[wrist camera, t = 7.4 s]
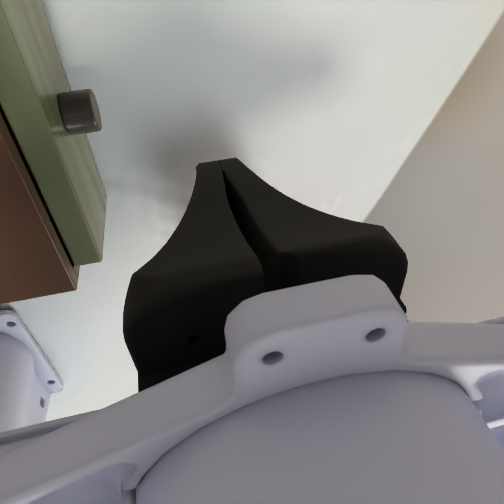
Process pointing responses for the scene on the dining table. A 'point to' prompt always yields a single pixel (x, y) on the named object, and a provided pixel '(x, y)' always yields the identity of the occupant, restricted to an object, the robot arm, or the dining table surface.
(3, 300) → the cabinet
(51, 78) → the drawer
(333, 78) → the dining table surface
